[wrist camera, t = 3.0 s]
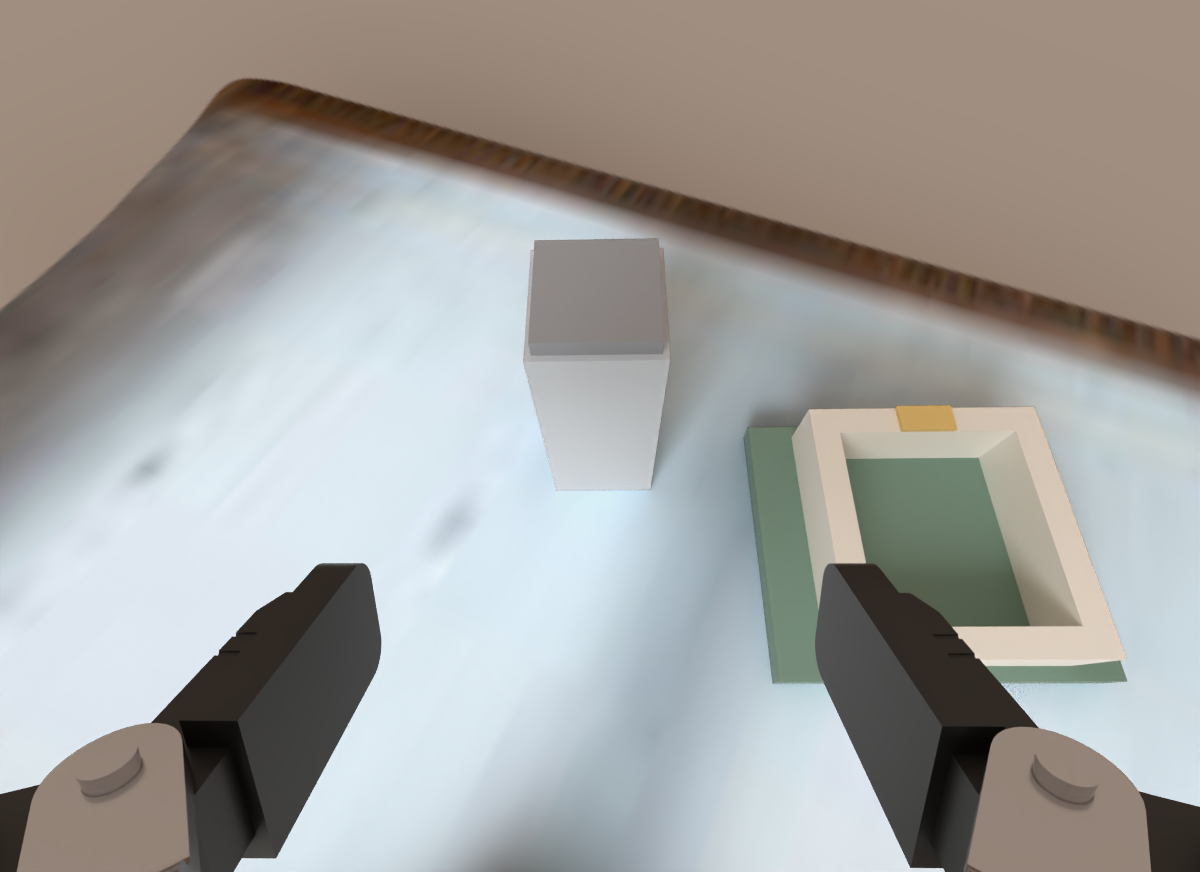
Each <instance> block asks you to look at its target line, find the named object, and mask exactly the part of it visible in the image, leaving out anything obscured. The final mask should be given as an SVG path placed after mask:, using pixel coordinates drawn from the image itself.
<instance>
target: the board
mask: <svg viewBox="0 0 1200 872" xmlns="http://www.w3.org/2000/svg"><path fill="white" fill-rule="evenodd" d="M744 444H745V453H746V461H747V470H748V478H749V487H750V495H751V503H752V512H753V520H754V529H755V537H756V546H757V554H758V563H759V571H760V580H761V588H762V597H763V605H764V614H765V622H766V630H767V639H768V647H769V656H770V664H771V673H772V681H773V683H824V682H823V680H822V678H821V675H820V672H819V669H818V665H817V660H816V653H815V636H816V628H817V620H818V612H819V604H820V596H821V588H822V580H823V574H824V570H825V568H826V566H827V565H828V564H830V563H873V564H876V565H877V566H878V567H879V568H880V569H881V570H882V572H883V573H884V574H885V576H886V577H887V578H888V579H889V581H890V582H891V583H892V584H893V586H894V587H895V588H896V589H897V591H898V592H899V593H911V594H913V595H914V596H916V597H917V598H919V599H920V600H922V601H923V602H925V603H926V604H928V605H929V606H931V607H932V608H934V609H935V610H937V611H938V612H940V614H941V615H942V616H943V617H944V618H945V619H946V621H947V622H948V623H949V624H950V625H951V626H952V628H953V629H954V630H955V631H956V632H957V633H958V637H959V639H963V640H964V642H965V643H966V644H967V645H968V646H969V647H970V649H971V650H972V651H973V652H974V653H975V658H979V659H980V660H981V661H982V663H983V664H984V665H985V666H986V667H987V668H988V670H989V671H990V672H991V673H992V674H993V675H994V676H995V678H996V679H997V680H998V681H999V682H1000V683H1112V682H1125V681H1127V679H1126V676H1125V673H1124V671H1123V668H1122V665H1121V662H1120V660H1127V658H1126V655H1125V653H1124V650H1123V647H1122V644H1121V642H1120V639H1119V636H1118V633H1117V631H1116V628H1115V625H1114V623H1113V620H1112V617H1111V614H1110V612H1109V609H1108V606H1107V603H1106V601H1105V598H1104V595H1103V593H1102V590H1101V587H1100V584H1099V582H1098V579H1097V576H1096V573H1095V571H1094V568H1093V565H1092V563H1091V560H1090V557H1089V554H1088V552H1087V549H1086V546H1085V543H1084V541H1083V538H1082V535H1081V533H1080V530H1079V527H1078V524H1077V522H1076V519H1075V516H1074V513H1073V511H1072V508H1071V505H1070V503H1069V500H1068V497H1067V494H1066V492H1065V489H1064V486H1063V483H1062V481H1061V478H1060V475H1059V473H1058V470H1057V467H1056V464H1055V462H1054V459H1053V456H1052V453H1051V451H1050V448H1049V445H1048V443H1047V440H1046V437H1045V434H1044V432H1043V429H1042V426H1041V423H1040V421H1039V418H1038V415H1037V412H1036V410H1035V407H977V408H951V405H930V406H897V407H896V408H882V409H809V410H808V412H807V413H806V415H805V417H804V418H803V420H802V421H801V423H800V425H799V426H798V427H748V429H747V431H746V434H745V436H744Z"/></svg>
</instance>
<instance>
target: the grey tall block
mask: <svg viewBox="0 0 1200 872" xmlns="http://www.w3.org/2000/svg"><path fill="white" fill-rule="evenodd" d="M523 363H524V367H525V371H526V374H527V378H528V382H529V386H530V390H531V394H532V398H533V402H534V406H535V410H536V414H537V417H538V421H539V425H540V429H541V433H542V437H543V441H544V445H545V449H546V453H547V457H548V460H549V464H550V468H551V472H552V476H553V480H554V484H555V488H556V491H577V490H650V488H651V481H652V475H653V469H654V462H655V456H656V449H657V443H658V436H659V430H660V423H661V417H662V410H663V404H664V397H665V391H666V384H667V378H668V371H669V365H670V348H669V332H668V316H667V300H666V283H665V267H664V251H663V248H659V242H658V238H654V239H594V240H535V243H534V250H531V255H530V270H529V285H528V300H527V314H526V329H525V344H524V359H523Z"/></svg>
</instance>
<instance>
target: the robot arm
mask: <svg viewBox="0 0 1200 872" xmlns="http://www.w3.org/2000/svg"><path fill="white" fill-rule="evenodd" d="M815 653H816V660H817V665H818V669H819V672H820V675H821V678H822V680H823V682H824V684H825V686H826V689H827V691H828V693H829V695H830V697H831V699H832V701H833V703H834V706H835V708H836V710H837V712H838V714H839V716H840V718H841V721H842V723H843V725H844V727H845V729H846V731H847V733H848V735H849V738H850V740H851V742H852V744H853V746H854V748H855V750H856V753H857V755H858V757H859V759H860V761H861V763H862V765H863V768H864V770H865V772H866V774H867V776H868V778H869V780H870V782H871V785H872V787H873V789H874V791H875V793H876V795H877V797H878V800H879V802H880V804H881V806H882V808H883V810H884V812H885V815H886V817H887V819H888V821H889V823H890V825H891V827H892V829H893V832H894V834H895V836H896V838H897V840H898V842H899V844H900V847H901V849H902V851H903V853H904V855H905V857H906V859H907V861H908V864H909V866H910V868H944V870H945V872H1200V807H1198V806H1194V805H1190V804H1186V803H1182V802H1178V801H1174V800H1170V799H1166V798H1162V797H1158V796H1154V795H1150V794H1146V793H1143V792H1139V791H1138V790H1137V789H1136V787H1135V786H1134V784H1133V783H1132V782H1131V781H1130V780H1129V779H1128V777H1127V776H1126V775H1125V774H1124V773H1123V772H1122V771H1121V770H1120V769H1118V768H1117V767H1116V766H1115V765H1114V764H1113V763H1111V762H1110V761H1109V760H1107V759H1106V758H1105V757H1103V756H1102V755H1100V754H1099V753H1097V752H1096V751H1094V750H1093V749H1091V748H1089V747H1087V746H1085V745H1084V744H1082V743H1080V742H1078V741H1076V740H1073V739H1071V738H1069V737H1067V736H1064V735H1061V734H1058V733H1055V732H1052V731H1048V730H1044V729H1039V728H1038V727H1037V725H1036V724H1035V723H1034V722H1033V721H1032V720H1031V718H1030V717H1029V716H1028V715H1027V714H1026V713H1025V711H1024V710H1023V709H1022V708H1021V707H1020V706H1019V704H1018V703H1017V702H1016V701H1015V700H1014V699H1013V697H1012V696H1011V695H1010V694H1009V693H1008V692H1007V690H1006V689H1005V688H1004V687H1003V686H1002V685H1001V683H1000V682H999V681H998V680H997V679H996V678H995V676H994V675H993V674H992V673H991V672H990V671H989V670H988V668H987V667H986V666H985V665H984V664H983V663H982V661H981V660H980V659H979V658H975V653H974V652H973V651H972V650H971V649H970V647H969V646H968V645H967V644H966V643H965V642H964V640H963V639H959V637H958V633H957V632H956V631H955V630H954V629H953V628H952V626H951V625H950V624H949V623H948V622H947V621H946V619H945V618H944V617H943V616H942V615H941V614H940V612H938V611H937V610H935V609H934V608H932V607H931V606H929V605H928V604H926V603H925V602H923V601H922V600H920V599H919V598H917V597H916V596H914V595H913V594H911V593H899V592H898V591H897V589H896V588H895V587H894V586H893V584H892V583H891V582H890V581H889V579H888V578H887V577H886V576H885V574H884V573H883V572H882V570H881V569H880V568H879V567H878V566H877V565H876V564H873V563H830V564H828V565H827V566H826V568H825V570H824V574H823V580H822V588H821V596H820V604H819V612H818V620H817V628H816V636H815ZM380 654H381V633H380V627H379V621H378V615H377V609H376V603H375V597H374V591H373V585H372V579H371V574H370V571H369V569H368V567H367V566H366V565H365V564H363V563H322V564H319V565H317V566H316V567H315V568H314V569H313V570H312V571H311V572H310V573H309V574H308V576H307V577H306V578H305V579H304V580H303V581H302V582H301V583H300V585H299V586H298V587H297V588H296V589H295V590H294V591H293V592H286V593H284V594H282V595H281V596H279V597H278V598H276V599H274V600H273V601H271V602H270V603H268V604H267V605H265V606H263V607H262V608H260V609H259V610H257V611H256V612H255V613H254V614H253V615H252V616H251V617H250V618H249V619H248V620H247V622H246V623H245V624H244V625H243V626H242V627H241V628H240V629H239V630H238V631H237V632H236V637H231V639H230V640H229V641H228V642H227V643H226V644H225V645H224V646H223V647H222V648H221V649H220V650H219V655H218V656H214V657H213V658H212V659H211V660H210V661H209V662H208V663H207V664H206V665H205V666H204V667H203V668H202V669H201V670H200V671H199V673H198V674H197V675H196V676H195V677H194V678H193V679H192V680H191V681H190V682H189V683H188V684H187V685H186V686H185V687H184V688H183V690H182V691H181V692H180V693H179V694H178V695H177V696H176V697H175V698H174V699H173V700H172V701H171V702H170V703H169V704H168V705H167V707H166V708H165V709H164V710H163V711H162V712H161V713H160V714H159V715H158V716H157V717H156V718H155V719H154V720H153V721H152V722H151V723H146V724H140V725H135V726H131V727H126V728H123V729H120V730H117V731H114V732H112V733H110V734H107V735H105V736H103V737H100V738H98V739H97V740H95V741H93V742H91V743H89V744H87V745H85V746H84V747H82V748H81V749H79V750H77V751H76V752H74V753H73V754H72V755H70V756H69V757H67V758H66V759H65V760H64V761H62V762H61V763H60V764H59V765H58V766H56V767H55V768H54V769H53V770H52V771H51V772H50V773H49V774H48V775H47V776H46V778H45V779H44V780H43V781H42V783H41V784H40V785H37V786H33V787H28V788H24V789H20V790H16V791H12V792H8V793H4V794H0V872H234V870H235V868H236V867H237V865H238V863H239V862H240V860H241V858H276V857H277V855H278V853H279V852H280V850H281V848H282V846H283V844H284V842H285V840H286V839H287V837H288V835H289V833H290V831H291V829H292V827H293V826H294V824H295V822H296V820H297V818H298V816H299V814H300V813H301V811H302V809H303V807H304V805H305V803H306V801H307V800H308V798H309V796H310V794H311V792H312V790H313V788H314V787H315V785H316V783H317V781H318V779H319V777H320V775H321V774H322V772H323V770H324V768H325V766H326V764H327V762H328V761H329V759H330V757H331V755H332V753H333V751H334V749H335V748H336V746H337V744H338V742H339V740H340V738H341V736H342V735H343V733H344V731H345V729H346V727H347V725H348V723H349V722H350V720H351V718H352V716H353V714H354V712H355V710H356V709H357V707H358V705H359V703H360V701H361V699H362V697H363V696H364V694H365V692H366V690H367V688H368V686H369V684H370V683H371V681H372V679H373V677H374V675H375V673H376V670H377V668H378V664H379V660H380Z"/></svg>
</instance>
